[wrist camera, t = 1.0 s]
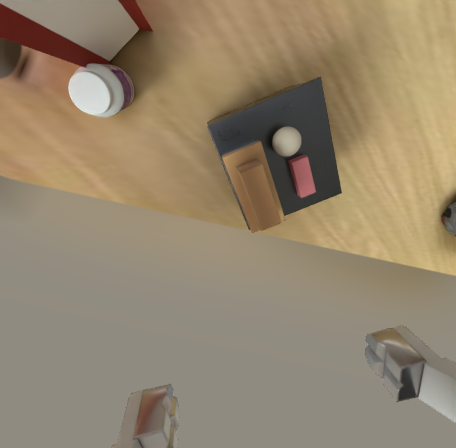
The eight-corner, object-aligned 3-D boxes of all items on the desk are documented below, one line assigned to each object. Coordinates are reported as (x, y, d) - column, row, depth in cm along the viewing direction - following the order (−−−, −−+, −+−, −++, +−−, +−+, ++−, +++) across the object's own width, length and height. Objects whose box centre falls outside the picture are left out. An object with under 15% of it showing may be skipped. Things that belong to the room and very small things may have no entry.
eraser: (287, 160, 30) (291, 162, 29) (303, 154, 30) (307, 156, 28) (297, 194, 32) (301, 198, 31) (311, 188, 32) (316, 192, 31)
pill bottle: (121, 57, 31) (98, 53, 23) (142, 101, 34) (128, 111, 26) (83, 73, 31) (47, 74, 23) (107, 115, 34) (82, 129, 26)
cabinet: (293, 83, 35) (325, 74, 26) (313, 173, 41) (345, 191, 33) (205, 121, 36) (207, 126, 27) (238, 204, 42) (249, 230, 33)
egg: (291, 120, 28) (302, 122, 25) (298, 147, 29) (308, 152, 26) (265, 132, 28) (273, 134, 25) (273, 158, 30) (281, 163, 27)
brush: (254, 137, 28) (267, 144, 23) (278, 210, 33) (293, 230, 27) (219, 152, 29) (224, 163, 23) (247, 222, 33) (257, 245, 28)
